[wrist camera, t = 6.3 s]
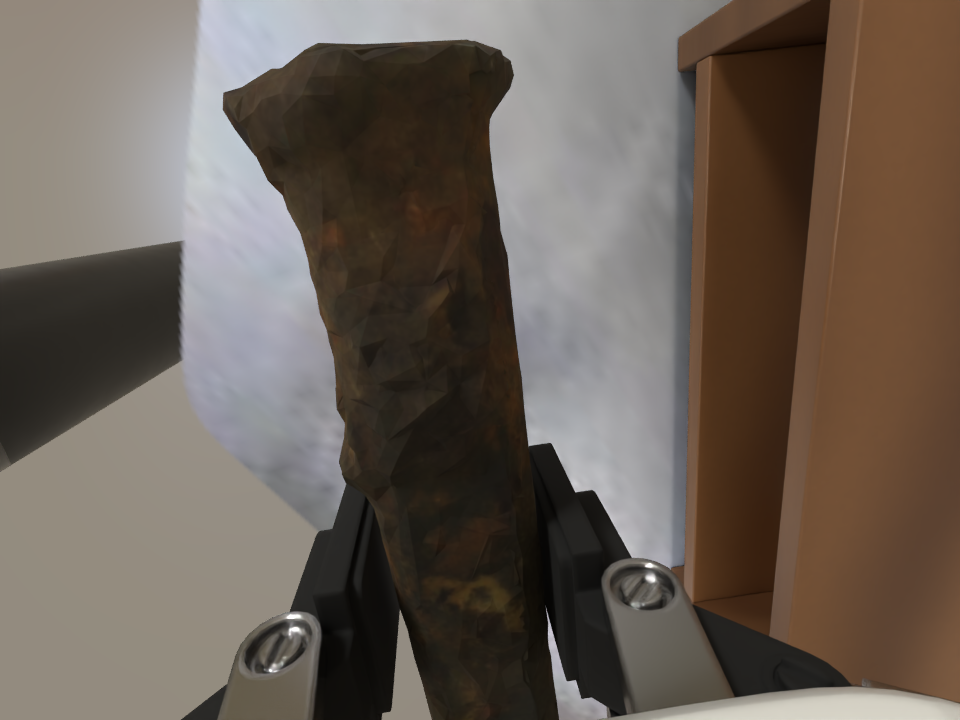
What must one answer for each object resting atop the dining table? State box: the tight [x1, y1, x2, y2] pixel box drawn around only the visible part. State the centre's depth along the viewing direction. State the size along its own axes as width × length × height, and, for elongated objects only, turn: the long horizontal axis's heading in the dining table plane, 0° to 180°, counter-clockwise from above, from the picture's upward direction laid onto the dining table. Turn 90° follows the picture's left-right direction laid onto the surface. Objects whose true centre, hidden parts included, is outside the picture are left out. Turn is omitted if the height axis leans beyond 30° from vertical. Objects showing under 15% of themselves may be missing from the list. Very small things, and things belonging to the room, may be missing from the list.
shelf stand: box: [671, 0, 960, 703], centre depth 19 cm, size 9×26×9 cm, turn 6°
